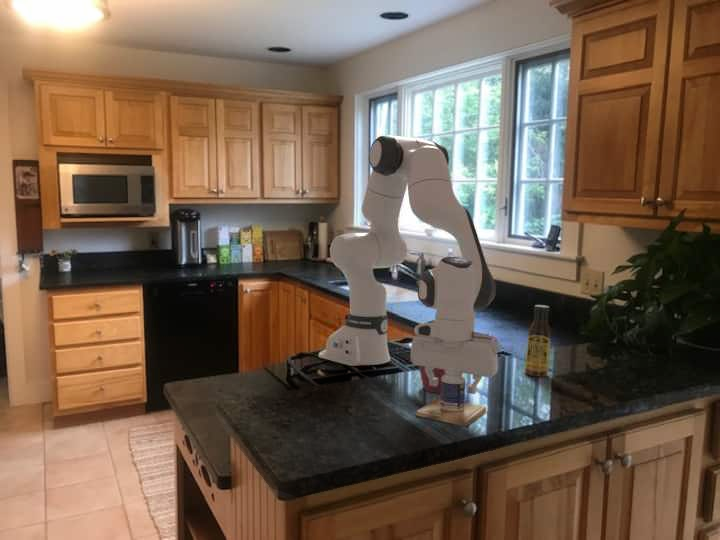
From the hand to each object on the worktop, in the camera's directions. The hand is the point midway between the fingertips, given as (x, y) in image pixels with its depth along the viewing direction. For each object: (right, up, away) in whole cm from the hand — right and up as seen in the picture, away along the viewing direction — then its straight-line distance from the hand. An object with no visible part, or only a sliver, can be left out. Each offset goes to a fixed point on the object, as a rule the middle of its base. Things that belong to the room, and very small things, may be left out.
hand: (452, 389), depth 137 cm
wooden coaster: (0, -6, +1) cm, 6 cm away
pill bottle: (0, -5, 0) cm, 5 cm away
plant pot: (0, -4, +19) cm, 20 cm away
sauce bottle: (+29, -3, +34) cm, 45 cm away
